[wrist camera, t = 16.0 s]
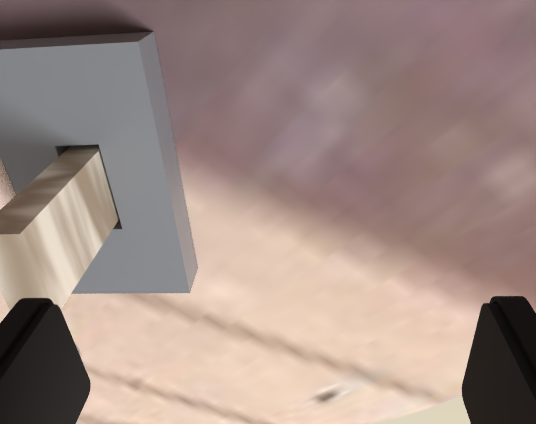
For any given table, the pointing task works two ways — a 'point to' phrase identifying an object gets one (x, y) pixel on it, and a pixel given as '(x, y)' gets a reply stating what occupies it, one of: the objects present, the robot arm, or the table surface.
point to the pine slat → (56, 227)
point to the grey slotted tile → (103, 148)
